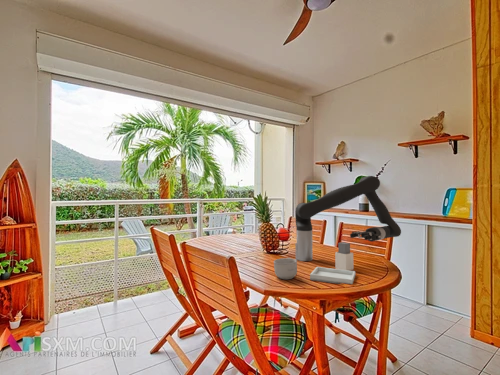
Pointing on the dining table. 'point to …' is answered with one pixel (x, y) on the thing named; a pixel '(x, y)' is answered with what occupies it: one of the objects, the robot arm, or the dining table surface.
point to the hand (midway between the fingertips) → (357, 236)
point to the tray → (332, 275)
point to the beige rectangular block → (344, 261)
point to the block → (344, 248)
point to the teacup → (285, 268)
